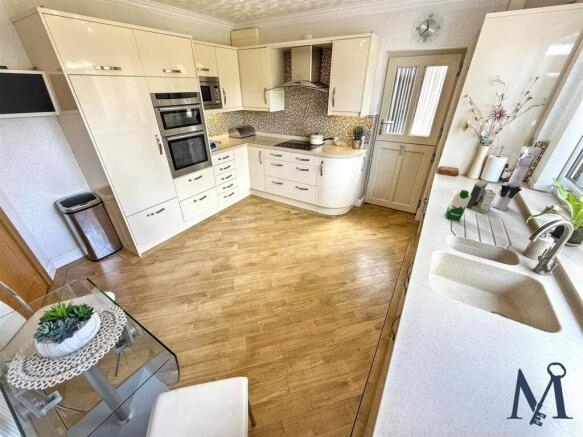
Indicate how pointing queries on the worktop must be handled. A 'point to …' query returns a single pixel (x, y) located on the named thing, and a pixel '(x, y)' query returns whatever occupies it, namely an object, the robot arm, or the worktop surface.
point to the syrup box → (486, 199)
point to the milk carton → (458, 205)
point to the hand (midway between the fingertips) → (506, 197)
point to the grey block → (477, 196)
